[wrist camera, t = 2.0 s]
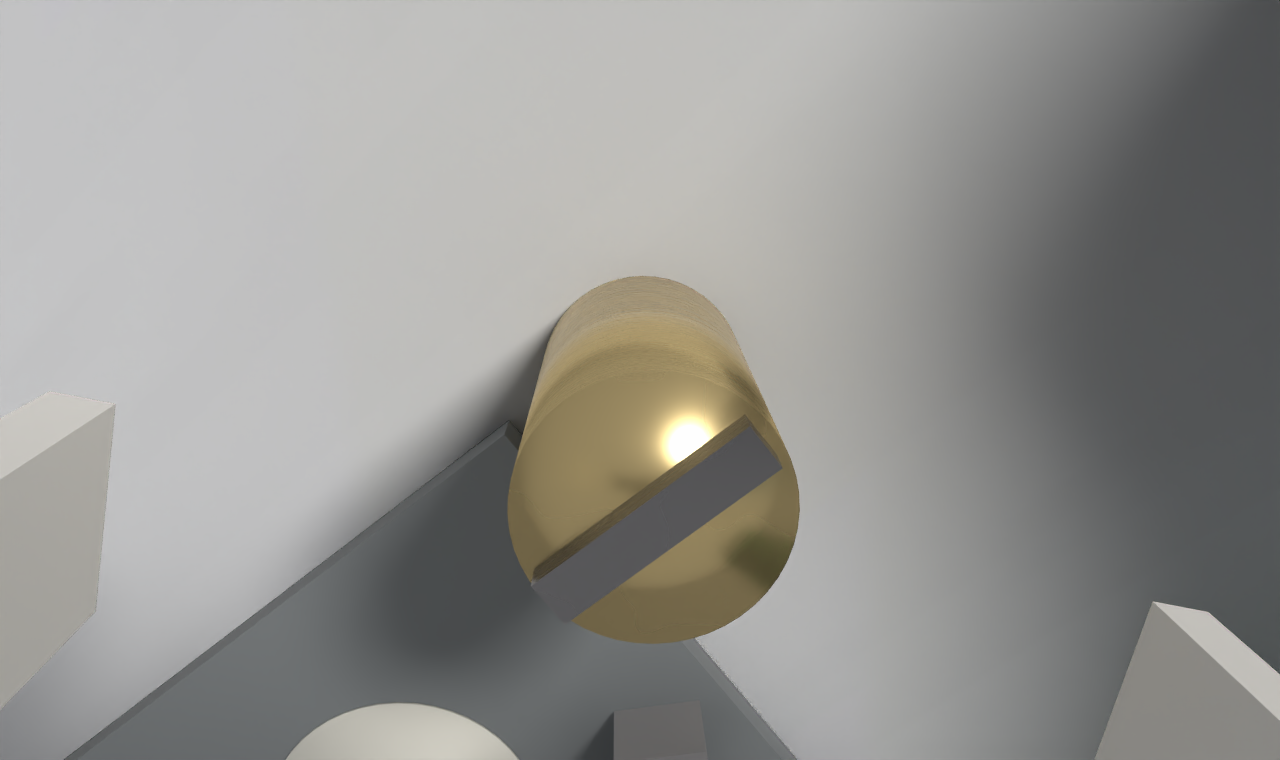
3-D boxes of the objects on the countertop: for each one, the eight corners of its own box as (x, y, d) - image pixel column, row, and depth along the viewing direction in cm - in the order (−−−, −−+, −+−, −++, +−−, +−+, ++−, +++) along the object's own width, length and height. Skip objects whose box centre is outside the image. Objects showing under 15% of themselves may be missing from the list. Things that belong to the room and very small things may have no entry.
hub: (661, 235, 23) (685, 319, 15) (780, 390, 24) (865, 551, 16) (502, 357, 24) (440, 504, 16) (625, 504, 25) (628, 716, 17)
